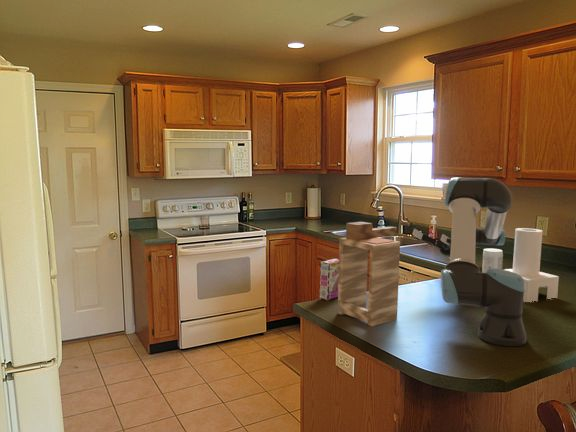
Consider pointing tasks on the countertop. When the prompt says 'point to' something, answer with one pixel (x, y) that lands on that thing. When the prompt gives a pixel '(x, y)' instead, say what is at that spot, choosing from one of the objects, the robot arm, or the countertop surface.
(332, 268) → the candy bar box
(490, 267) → the supplement tub
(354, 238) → the mallet
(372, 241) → the mat
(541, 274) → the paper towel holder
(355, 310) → the wooden open frame
